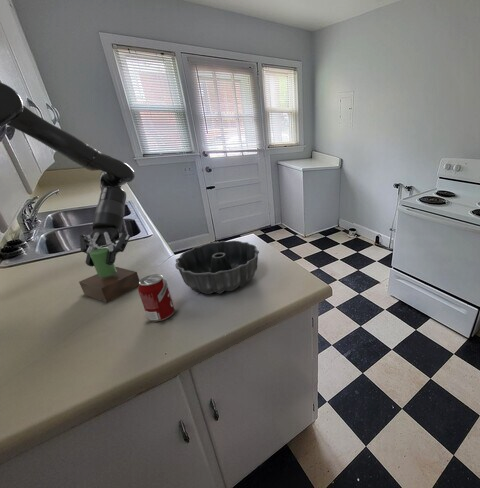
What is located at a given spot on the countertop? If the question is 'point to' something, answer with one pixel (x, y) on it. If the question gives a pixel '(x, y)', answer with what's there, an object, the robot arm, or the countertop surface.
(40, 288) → the countertop surface
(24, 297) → the countertop surface
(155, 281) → the soda can
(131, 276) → the walnut block
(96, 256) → the green cylinder
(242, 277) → the bundt pan
